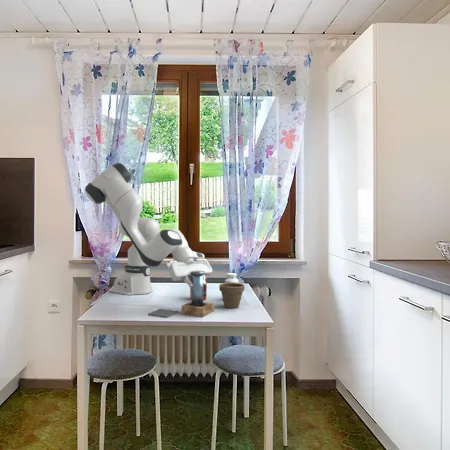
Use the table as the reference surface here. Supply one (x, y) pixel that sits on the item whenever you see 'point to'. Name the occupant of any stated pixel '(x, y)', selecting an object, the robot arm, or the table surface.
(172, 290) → the table surface
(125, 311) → the table surface
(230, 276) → the supplement bottle
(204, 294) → the canned food
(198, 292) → the plunger
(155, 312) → the mat
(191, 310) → the bore block
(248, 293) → the table surface
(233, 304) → the flower pot
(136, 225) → the robot arm
